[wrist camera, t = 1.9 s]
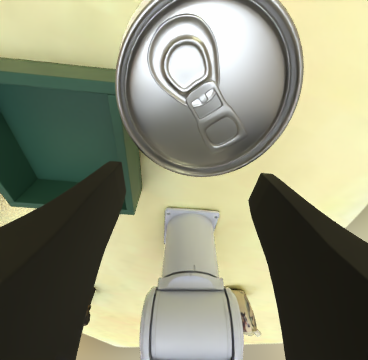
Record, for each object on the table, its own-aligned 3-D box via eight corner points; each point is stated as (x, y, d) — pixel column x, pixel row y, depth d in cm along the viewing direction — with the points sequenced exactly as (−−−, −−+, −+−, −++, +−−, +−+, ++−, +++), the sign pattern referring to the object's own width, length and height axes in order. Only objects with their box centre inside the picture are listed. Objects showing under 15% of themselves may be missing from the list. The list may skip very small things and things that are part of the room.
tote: (142, 188, 24) (134, 215, 20) (37, 180, 23) (10, 206, 20) (133, 71, 15) (116, 82, 12) (-33, 53, 15) (-103, 60, 11)
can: (211, -19, 12) (291, -194, 3) (246, 74, 15) (335, 136, 6) (139, 46, 14) (50, 72, 5) (183, 115, 18) (178, 205, 8)
